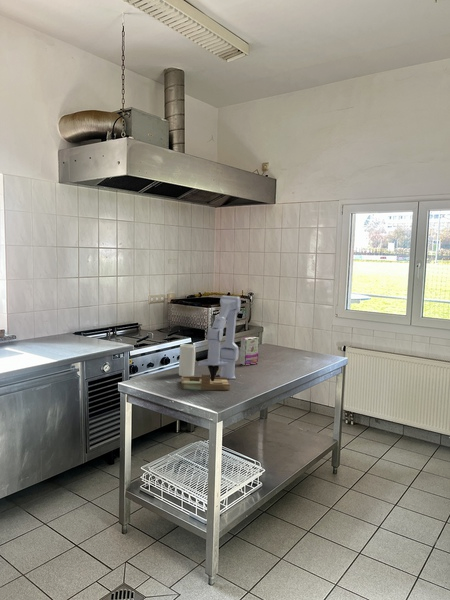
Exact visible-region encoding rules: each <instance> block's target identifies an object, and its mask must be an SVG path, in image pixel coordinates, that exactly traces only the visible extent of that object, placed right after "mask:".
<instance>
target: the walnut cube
mask: <svg viewBox="0 0 450 600" xmlns="http://www.w3.org/2000/svg"><path fill="white" fill-rule="evenodd" d="M201 377H202V381H201V383H204V384H210V377H211V375H210V374H205V373H203V374H201Z"/></svg>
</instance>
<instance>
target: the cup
mask: <svg viewBox="0 0 450 600" xmlns="http://www.w3.org/2000/svg"><path fill="white" fill-rule="evenodd" d="M195 360H196V345H195V344H191V343H183V344H182V343H181V344H180V345H179V361H178V375H179V376H180V377H182V376H192V377H195V365H196V364H195V363H196V361H195Z"/></svg>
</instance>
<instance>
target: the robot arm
mask: <svg viewBox="0 0 450 600" xmlns="http://www.w3.org/2000/svg"><path fill="white" fill-rule="evenodd" d="M219 304H220V311H219V314H218V316H217V317H216V318H215V319H214V321H213V324H212V326H211V328H210V329H208V330H207V333H206V338H207V344H208V351H207V360H204V361H203V360H201V361H200V360H199V361H198V367H207V368H208V371H209V375H210V377H211V381H214V378H215V377H216V375H217V373H219V377H227V380H228V379H230V380H235V379H237V378H236V376H235V370H236V369H235V368H236V362H237V361H238V360H239V357H240V350H239V346H238V345H237V344H236V343H235V336H236V326H237V324H236V323H237V315H238V313H239V312H240V311H241V305H242V300H241V297H240V296H238V295H237V296H233V295H231V296H230V295H224V294H223V295H221V296H220V300H219ZM225 326H226V329H225ZM224 329H225V330H226V331H225V339H224V342H223V343H221V342H222V340H223V337H224V336H223V335H224ZM220 367H221V369H220ZM219 369H220V372H218V371H219Z"/></svg>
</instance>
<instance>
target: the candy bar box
mask: <svg viewBox="0 0 450 600" xmlns="http://www.w3.org/2000/svg"><path fill="white" fill-rule="evenodd" d="M259 345H260V337H256V336H250V337H249V336H248V337H241V338H240V351H239V357H240V359H239V364H240V363H241V364H245V365H246V364H251V363H256V362H258V363H259V348H260V347H259Z"/></svg>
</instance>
